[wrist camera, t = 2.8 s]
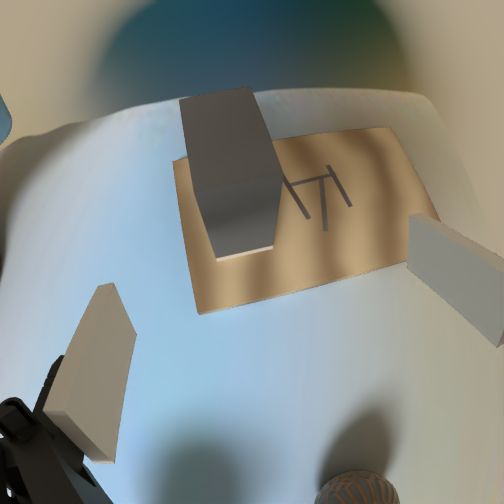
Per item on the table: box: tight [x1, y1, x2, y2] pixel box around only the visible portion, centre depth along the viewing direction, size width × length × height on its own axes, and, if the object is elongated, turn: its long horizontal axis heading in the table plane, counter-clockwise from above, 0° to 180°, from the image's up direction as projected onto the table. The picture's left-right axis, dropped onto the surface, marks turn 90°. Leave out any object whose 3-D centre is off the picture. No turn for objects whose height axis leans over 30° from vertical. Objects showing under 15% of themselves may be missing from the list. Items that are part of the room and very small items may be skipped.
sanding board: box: [173, 127, 441, 315], centre depth 30 cm, size 26×16×1 cm, turn 104°
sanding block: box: [179, 86, 284, 262], centre depth 23 cm, size 8×5×11 cm, turn 14°
